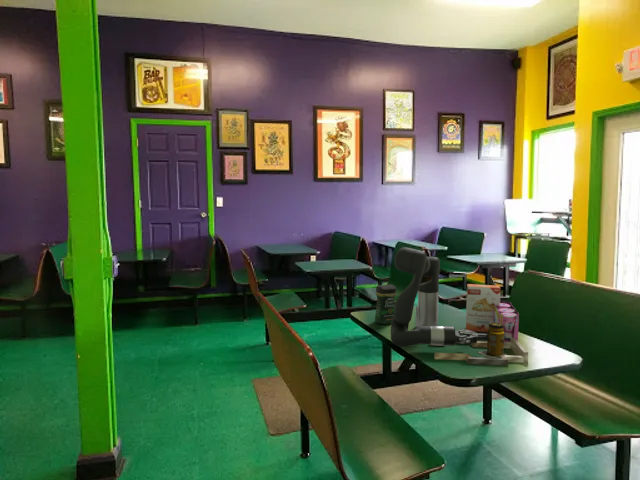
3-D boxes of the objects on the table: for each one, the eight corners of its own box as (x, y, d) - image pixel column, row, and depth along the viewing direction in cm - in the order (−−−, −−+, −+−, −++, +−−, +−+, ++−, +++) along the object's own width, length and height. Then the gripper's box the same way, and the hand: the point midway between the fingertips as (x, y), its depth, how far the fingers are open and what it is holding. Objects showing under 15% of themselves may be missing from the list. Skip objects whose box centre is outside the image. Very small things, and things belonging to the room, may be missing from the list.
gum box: (518, 348, 180) (520, 315, 179) (497, 346, 182) (499, 314, 181) (509, 331, 203) (511, 301, 202) (491, 329, 205) (492, 300, 204)
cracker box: (466, 331, 203) (467, 286, 201) (465, 327, 209) (466, 283, 207) (499, 333, 200) (500, 287, 197) (497, 329, 205) (499, 284, 203)
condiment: (508, 355, 173) (509, 325, 171) (492, 359, 169) (493, 328, 168) (493, 349, 179) (494, 320, 178) (477, 352, 176) (478, 323, 174)
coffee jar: (380, 325, 213) (380, 287, 211) (372, 321, 220) (373, 284, 218) (398, 323, 216) (398, 285, 214) (390, 319, 223) (390, 282, 222)
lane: (436, 362, 165) (436, 352, 165) (428, 341, 189) (428, 332, 189) (531, 366, 161) (531, 355, 161) (511, 344, 185) (511, 335, 185)
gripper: (444, 331, 169) (492, 332, 167) (439, 321, 182) (483, 322, 180) (444, 350, 170) (491, 352, 168) (439, 339, 183) (483, 341, 181)
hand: (487, 337), depth 174 cm, fingers closed
